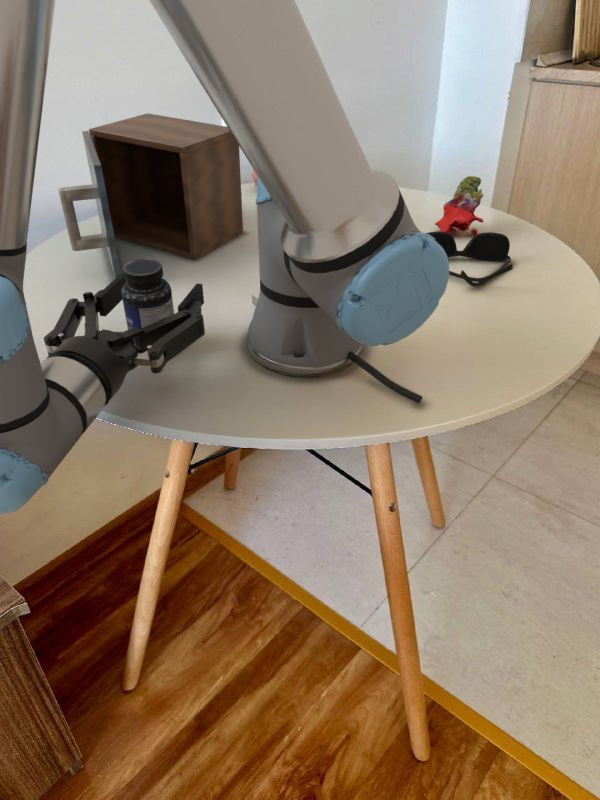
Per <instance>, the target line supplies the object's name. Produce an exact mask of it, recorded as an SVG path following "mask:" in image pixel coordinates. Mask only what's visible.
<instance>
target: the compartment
mask: <svg viewBox="0 0 600 800" xmlns="http://www.w3.org/2000/svg"><path fill="white" fill-rule="evenodd" d="M88 132H89V134H90V137H91V140H92V142H93V145H94V148H95V150H96V153H97V155H98V158H99V161H100V163H101V167H102V172H103V178H104V183H105V188H106V194H107V199H108V204H109V210H110V215H111V221H112V226H113V231H114V237H115V238H118V239H121V240H124V241H128V242H130V243H135V244H137V245H142V246H146V247H149V248H152V249H155V250H160V251H163V252H167V253H169V254H174V255H177V256H180V257H184V258H187V259H189V260H190V259H191V260H194V261H196V260H198V259H199V258H201V257H203V256H205V255H207V254H209V253H211V252H212V251H214V250H215V249H217V248H219V247H222V246H223V245H225V244H227V243H228V242H230V241H232V240H234V239H235V238H238V237H239V236H241V235H243V234H244V221H243V218H244V217H243V200H242V199H243V198H242V180H241V179H242V178H241V158H240V156H241V155H240V146H239V145H238V143H237V141H236V140H235V138H234V137H233V135H232V133H231V132H230V130H229V128H228V127H227V125H219V124H213V123H207V122H202V121H195V120H190V119H183V118H177V117H171V116H165V115H160V114H153V113H144V114H140V115H136V116H133V117H128V118H125V119H121V120H118V121H113V122H111V123H110V122H109V123H106V124H102V125H99V126H94V127H91V128H88Z"/></svg>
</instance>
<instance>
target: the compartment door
mask: <svg viewBox="0 0 600 800" xmlns="http://www.w3.org/2000/svg"><path fill="white" fill-rule="evenodd" d="M81 134H82V139H83V144H84V150H85V153H86V154H85V155H86V160H87V165H88V169H89V174H90V180H91V184H83V185H72V186H64V187H59V188H58V189H57V190H58V195H59V200H60V204H61V209H62V212H63V217H64V221H65V224H66V225H65V226H66V229H67V234H68V238H69V242H70V247H71V250H72V251H74V252H80V251H89V250H95V249H104V248H105V249H106V252H107V255H108V259H109V263H110V267H111V270H112V273H113V276H114V279H115V278H116V277H118V276H119V275H120V274H121V275H123V274H122V270H121V269H122V268H121V263H120V259H119V254H118V253H119V252H118V248H117V243H116V237H114V231H113V226H112V221H111V215H110V210H109V204H108V199H107V194H106V188H105V183H104V178H103V172H102V167H101V163H100V161H99V158H98V155H97V153H96V150H95V148H94V145H93V142H92V140H91V137H90V134H89V130H82V131H81ZM87 200H95V204H96V205H95V206H96V209H97V214H98V219H99V220H98V221H99V225H100V230H101V233H98V234H97V233H96V234H90V235H83V236H81V232H80V227H79V222H78V219H77V214H76V210H75V205H74V202H79V201H80V202H81V201H87Z"/></svg>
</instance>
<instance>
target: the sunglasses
mask: <svg viewBox="0 0 600 800" xmlns="http://www.w3.org/2000/svg"><path fill="white" fill-rule="evenodd" d="M425 233H426V234H429V235H431V236H432V237H433V238H435V240H436V242H437V243H438V244H439V245H440V246H441V247H442V248H443V249H444V251H445V253H446V255H447V258H448V259H449V258H455V257H464V258H469V259H472V260H478V261H486V262H487V261H488V262H505V263H503V265H501V266H500V267H499V268H498V269H496V270H495V271H494V272H492V273H490V274H489V275H486V276H483V277H472V276H469V275H468V274H467V273H466V272H465V270H461V271H460V273H457V272H455V271H451V270H449V276H452V277H455V278H457V279H462V280H464V281H465V282H466V283H467V284H468V285H469V286H470V287H473V288H476V287H479V286H482V285H483V284H485V283H487V282H489V281H490V280H492V279H495V278H496V277H498V276H499V277H500V276H501V275H503V274H506V273H508V272H510V271H512V270H513V269H514V266H513V265H514V264H513V263H511V261H512V259H511V256H510V255H509V253H510V246H511V244H510V240H509V239H510V238H509V237H507V235H505V234H503V233H499V232H493V231H492V232H489V231H488V232H479V233H477V234H476V235H473V236H472V237H471V239H470V240H469V241H468V243H467V244H466V246H465V247H464V248H463V250H458V247H457V243H456V240H455V238H454V237H453V235H452V233H447V232H440V230H439V231H430V232H425Z"/></svg>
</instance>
